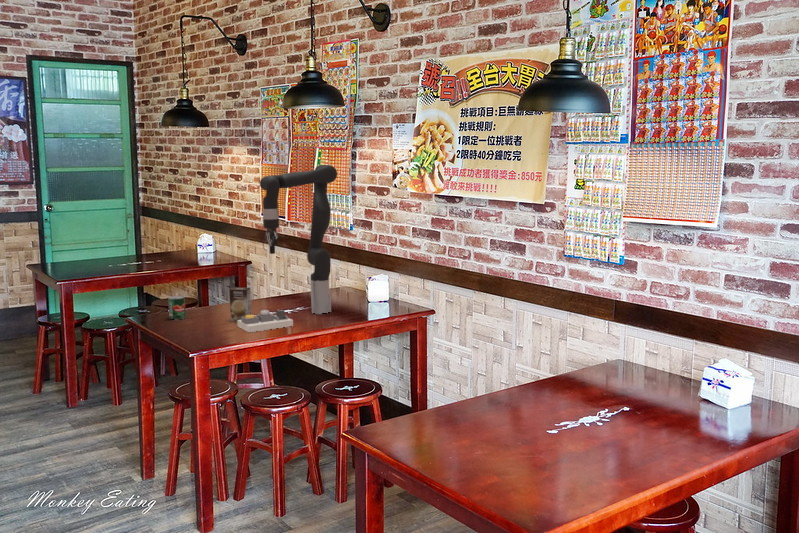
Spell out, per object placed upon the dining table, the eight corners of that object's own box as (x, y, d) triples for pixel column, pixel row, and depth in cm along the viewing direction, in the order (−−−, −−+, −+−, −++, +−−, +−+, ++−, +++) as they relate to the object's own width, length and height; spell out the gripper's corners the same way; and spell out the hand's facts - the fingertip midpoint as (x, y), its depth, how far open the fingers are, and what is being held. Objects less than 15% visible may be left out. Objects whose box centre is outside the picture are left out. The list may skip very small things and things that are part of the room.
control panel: (280, 320, 365) (280, 309, 364) (293, 326, 352) (292, 314, 351) (237, 326, 353) (237, 315, 353) (249, 332, 341) (248, 321, 340)
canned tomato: (175, 316, 376) (174, 295, 375) (189, 317, 374) (187, 296, 372) (166, 319, 369) (164, 298, 367) (179, 320, 366) (178, 299, 365)
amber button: (252, 320, 351) (252, 314, 351) (255, 322, 348) (255, 315, 347) (244, 321, 349) (244, 315, 349) (247, 323, 346) (247, 316, 345)
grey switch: (267, 315, 355) (267, 309, 354) (270, 317, 352) (270, 311, 351) (259, 316, 353) (259, 310, 352) (262, 318, 349) (262, 312, 349)
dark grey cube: (282, 317, 356) (282, 309, 356) (284, 318, 354) (284, 310, 353) (276, 318, 355) (276, 310, 354) (278, 319, 352) (278, 311, 352)
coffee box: (230, 321, 363) (228, 289, 361) (234, 318, 370) (232, 287, 367) (248, 321, 363) (246, 289, 360) (252, 319, 369) (250, 287, 366)
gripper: (283, 218, 355) (285, 254, 357) (272, 216, 366) (274, 251, 368) (268, 219, 351) (270, 255, 353) (258, 217, 362) (259, 252, 364)
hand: (272, 253), depth 361 cm, fingers closed
